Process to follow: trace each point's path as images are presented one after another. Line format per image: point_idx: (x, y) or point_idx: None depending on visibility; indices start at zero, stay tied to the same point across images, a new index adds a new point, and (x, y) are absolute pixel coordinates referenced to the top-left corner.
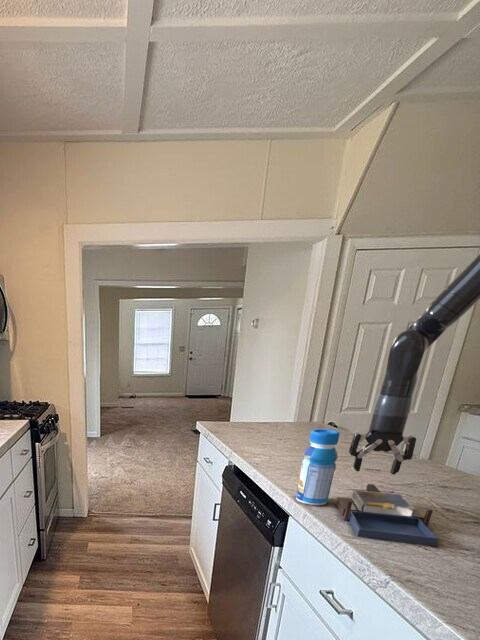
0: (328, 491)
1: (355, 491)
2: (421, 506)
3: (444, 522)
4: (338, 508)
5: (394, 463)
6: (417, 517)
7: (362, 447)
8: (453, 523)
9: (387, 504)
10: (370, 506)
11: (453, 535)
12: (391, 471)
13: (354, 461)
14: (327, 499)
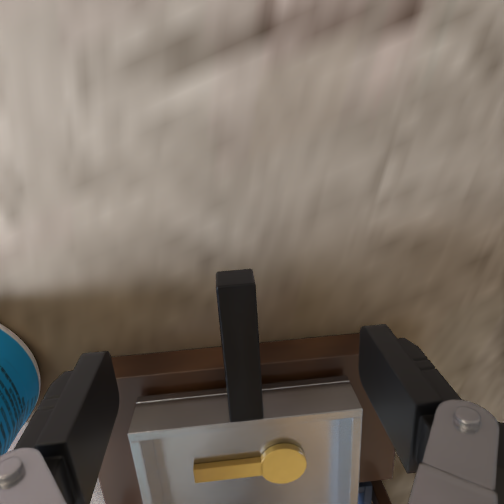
0: (5, 452)
1: (136, 455)
2: (472, 237)
3: (472, 397)
4: None
5: (397, 422)
6: (369, 479)
7: None
8: (500, 394)
9: (279, 465)
10: (208, 492)
11: None
12: (364, 353)
13: (32, 427)
14: (31, 407)
